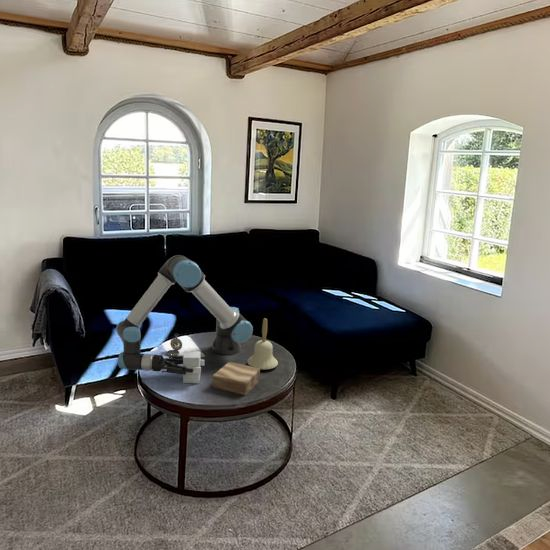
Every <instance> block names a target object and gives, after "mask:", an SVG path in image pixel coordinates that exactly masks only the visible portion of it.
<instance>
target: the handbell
mask: <svg viewBox="0 0 550 550" xmlns="http://www.w3.org/2000/svg"><path fill="white" fill-rule="evenodd" d="M267 334H268V319H267V318H265V317H264V318H263V319H262V326H261V336H262V338H261V339H260V340H258V341H256V343H254V348H253V350H254V351H253V355H251V356H250V357H249V358H248V359H247V361H246V362H247V365H248V366H250V367H255V368H259V369H260V370H271V369H274V368H276V367H278V364H279V362H278V360H277V359H276V358H275V356H274V355H273V349H274V347H273V344H272V343H271V341H270V340H266V339H267Z"/></svg>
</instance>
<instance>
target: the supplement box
mask: <svg viewBox="0 0 550 550" xmlns="http://www.w3.org/2000/svg"><path fill="white" fill-rule="evenodd" d="M201 354H202V353H201V351H184V354H183V355H182V356H183V364H182V366H183V367H186V366H190V367H201V365H200V363H201V359H202V357H201V356H202V355H201ZM200 379H201V374H199V373H186V374H185V375H184V373H183V375H182V384H183V383H184V384H199V383H200Z"/></svg>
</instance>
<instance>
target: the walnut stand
mask: <svg viewBox="0 0 550 550" xmlns="http://www.w3.org/2000/svg"><path fill="white" fill-rule="evenodd" d="M260 376H261V369H259V368H255V367H251V366H250V365H246V364H241V363H236V362H232V361H228V362H227V363H225V364H224V365H223V366H222V367H221V368H220V369H218V371H216V372H215V373H213V377H212V380H213V381H212V388H214V389H218V390H223V391H226V392H230V393H235V394H238V395H243V396H246V395H247V394H248V393H249V392H250V391H251V390H252V389H253V388H254V387H255V386H256V385H257V384H258V383H259V382H260V378H261V377H260Z"/></svg>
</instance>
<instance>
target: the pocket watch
mask: <svg viewBox="0 0 550 550" xmlns="http://www.w3.org/2000/svg"><path fill="white" fill-rule="evenodd" d="M173 336H174V338H172V339H170V343H169V344H170V347H171V348H172V349H169V350H167V351H166V355H167V356H168V357H169V356H170V355H171V354H172V355H171V356H180V350H181V349H182V348H183V342H182V340H181V339H180V338H178V337H179V336H180V335H179V334H178V333H177V334H176V333H174V335H173Z"/></svg>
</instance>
